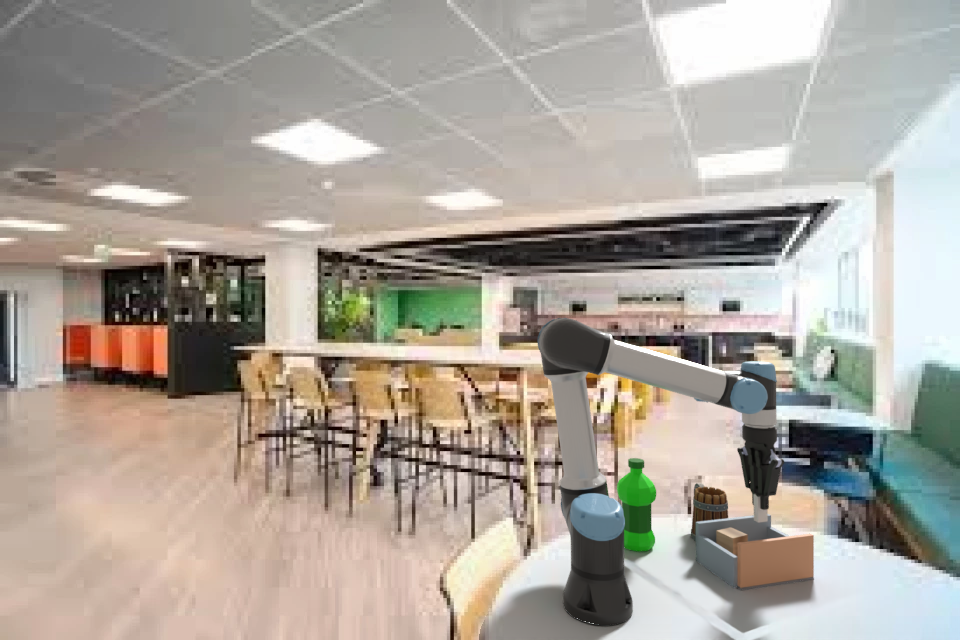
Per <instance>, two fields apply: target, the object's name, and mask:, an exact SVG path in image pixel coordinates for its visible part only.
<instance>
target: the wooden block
mask: <svg viewBox="0 0 960 640" xmlns="http://www.w3.org/2000/svg"><path fill="white" fill-rule="evenodd" d="M740 542H748V535H747V534H745V533H743V532H740V531H738V530H736V529H734V528H731V527H730V528H726V529H721V530H717V531H716V544H718V545H720V546H721V547H723V548H724V549H726V550H728V551H729V552H731V553H732V554H734V555H736V556H737V557H738V543H740Z"/></svg>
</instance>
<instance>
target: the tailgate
mask: <svg viewBox="0 0 960 640" xmlns="http://www.w3.org/2000/svg"><path fill="white" fill-rule="evenodd" d="M814 538H815V537H814V534H812V533H805V534H804V533H803V534H798V535H796V534H795V535H789V536H787V537H779V538H772V539H764V540H756V541H748V542H740V543H738V587H736V588H737V589H738V590H740V591H745V590H751V589H759V588H765V587H771V586H781V585H787V584H793V583H799V582H805V581H812V580H815V577H814V576H815V575H814V574H815V573H814V571H815V569H814V567H815V565H814V561H815V560H814V557H815V556H814V549H815V548H814V547H815V546H814V545H815V544H814V543H815V542H814V540H815V539H814Z"/></svg>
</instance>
